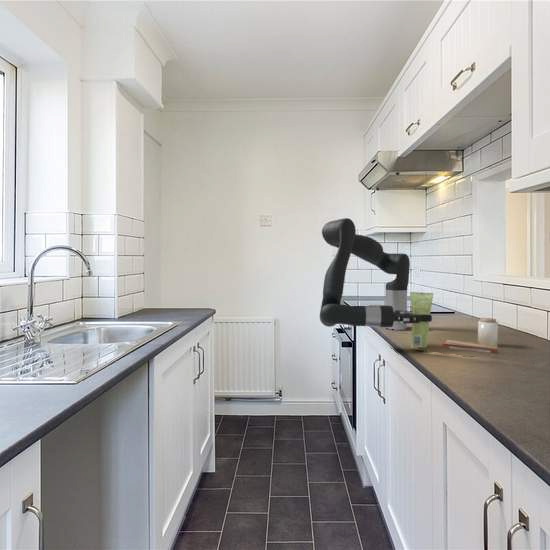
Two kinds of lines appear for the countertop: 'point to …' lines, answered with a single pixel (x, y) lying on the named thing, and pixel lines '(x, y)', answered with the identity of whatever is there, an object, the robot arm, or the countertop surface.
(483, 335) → the jar
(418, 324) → the tube
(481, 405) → the countertop surface
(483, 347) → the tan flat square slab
